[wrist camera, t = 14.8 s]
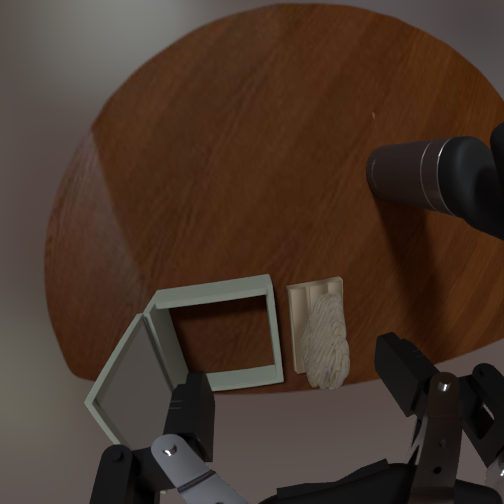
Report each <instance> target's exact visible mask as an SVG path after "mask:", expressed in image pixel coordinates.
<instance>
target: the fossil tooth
mask: <svg viewBox="0 0 504 504" xmlns="http://www.w3.org/2000/svg"><path fill="white" fill-rule="evenodd" d="M300 348H301V353H302V357H303V361H304V366H305V370H306V372H307V373H306V374H307V376H308V381H309V382H310V385H311V386H312V387H318V386H319V387H320V388H321V389H325V388H329V390H333V389H337V388H338V387H339V386H341V385H342V383H343V381H344V379H345V378H346V377H347V375H348V374H349V367H350V359H349V345H348V343H347V341H346V326H345V320H344V314H343V307H342V298H341V296H340V294H339V293H330V292H329V293H326V294H322V295H319V296H317V297H316V298H315V299H314V302H313V305H312V314H310V316H309V319H308V322H307V325H306V328H305V331H304V333H303V336H302V338H301V341H300Z"/></svg>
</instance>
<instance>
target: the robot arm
mask: <svg viewBox="0 0 504 504" xmlns="http://www.w3.org/2000/svg"><path fill="white" fill-rule="evenodd" d="M490 145H491V151H492V152H491V151H490V149H489V148H488V147H487V146H486V145H485V144H484V143H483V142H482V141H481V140H479V139H477V138H475V137H470V136H462V137H451V138H441V139H433V140H424V141H416V142H408V143H401V144H393V145H387V146H382V147H379V148H377V149H376V150H375V151H374V152H373V153H372V154H371V155H370V157H369V159H368V162H367V167H366V175H367V180H368V183H369V186H370V188H371V189H372V191H373V192H374V193H375V194H376V195H377V196H378V197H379V198H381V199H383V200H386V201H391V202H396V203H400V204H405V205H409V206H414V207H418V208H423V209H427V210H431V211H435V212H440V213H444V214H448V215H452V216H456V217H459V218H463V219H464V220H465V221H466V222H467V223H468V224H469V225H470V226H472V227H473V228H475V229H477V230H479V231H482V232H485V233H487V234H489V235H492V236H494V237H497V238H499V239H501V240H503V241H504V122H503V123H501V124H500V125H498V126H497V127H496V128H495V129H494V130H493V132H492V134H491V137H490ZM374 364H375V369H376V371H377V373H378V375H379V376H380V378H381V379H382V381H383V382H384V384H385V385H386V387H387V388H388V390H389V391H390V393H391V394H392V396H393V397H394V399H395V400H396V402H397V403H398V405H399V406H400V408H401V409H402V411H403V412H404V414H405V415H406V417H409V416H411V415H413V414H415V415H416V416H417V419H416V421H415V426H414V430H413V435H412V439H411V443H410V447H409V450H408V454H407V456H406V458H405V461H404V463H392V464H388V462H387V460H386V459H383V460H381V461H378V462H376V463H373V464H370V465H367V466H365V467H362V468H360V469H358V470H356V471H355V472H353V473H351V474H349V475H348V476H346V477H344V478H342V479H340V480H339V481H336V482H327V483H304V484H299V485H294V486H288V487H283V488H277V494H276V495H274V496H271V497H269V498H267V499H265V500H263V501H262V502H260V503H259V504H504V376H503V375H502V374H501V373H500V372H499V371H498V370H497V369H496V368H495V367H494V366H492V365H490V364H487V363H482V364H479V365H477V366H476V367H475V368H474V369H473V372H472V374H471V375H467V376H463V377H458V378H457V377H456V376H455V375H454V374H452V373H449V372H439V370H438V369H437V368H436V367H435V366H434V365H433V364H432V363H431V362H430V361H429V360H428V359H427V358H426V356H425V355H423V353H422V352H421V351H420V350H418V348H417V347H416V346H415V345H414V344H413V343H412V342H410V341H408V340H406V339H400V338H399V337H398V336H397V335H396V334H395V333H394V332H390V333H387V334H384V335H381V336H378V337H377V342H376V351H375V360H374ZM170 401H171V402H170V404H169V409H168V413H167V417H166V422H165V426H164V431H163V435H162V436H160V437H159V438H157V439H156V440H155V441H154V442H153V444H152V446H150V447H147V448H143V449H138V450H133V451H131V450H130V449H129V448H128V447H127V446H125V445H122V444H115V445H112V446H110V447H108V448H107V449H106V450H105V451H104V452H103V454H102V457H101V460H100V464H99V468H98V471H97V475H96V479H95V483H94V487H93V491H92V495H91V499H90V504H159V503H160V491H163V490H168V489H173V488H177V489H178V492H179V493H180V495H181V496H182V497H183V498H184V500H185V501H186V502H187V503H188V504H250V503H249V502H248V501H247V500H245V499H244V498H243V497H242V496H241V495H240V494H239V493H237V492H236V491H235V490H234V489H233V488H232V487H231V486H230V485H229V484H228V483H227V482H226V481H224V480H223V479H222V478H221V477H220V476H219V475H218V474H217V473H216V472H215V471H212V470H211V469H210V468H209V467H208V466H207V465H206V464H205V462H213V436H214V416H215V415H214V414H215V400H214V395H213V392H212V389H211V386H210V384H209V381H208V378H207V375H206V373H205V371H199V372H189V373H188V374H187V378H186V383H185V384H178V385H177V387H176V388H175V389H174V391H173V392H172V396H171V400H170ZM484 404H485V405H486V406H487V407H488V409H489V410H490V411H491V412H492V414H493V416H494V420H493V419H492V417H491V416H490V415H489V413H488V412H487V411H486V409H485V408H484V407H483V405H484ZM462 429H463V430H464V432H465V433H466V435H467V436H468V438H469V439H470V441H471V443H472V444H473V446H474V447H475V449H476V451H477V452H478V454H479V455H480V457H481V459H482V461H483V462H484V464H485V466H486V467H487V472H486V479H485V485H486V486H483V485H479V484H474V483H470V482H466V481H462V480H458V479H456V474H457V469H458V463H459V457H460V449H461V440H462Z"/></svg>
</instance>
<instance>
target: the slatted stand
mask: <svg viewBox="0 0 504 504" xmlns="http://www.w3.org/2000/svg"><path fill="white" fill-rule="evenodd" d="M286 289H287V299H288V309H289V319H290V330H291V341H292V353H293V365H294V370H295V372H297V374H299V373H304V372H306V370H305V366H304V361H303V357H302V353H301V348H300V341H301V338H302V336H303V333H304V331H305V328H306V325H307V322H308V319H309V316H310V314H312V305H313V302H314V299H315V298H316V297H317V296H319V295H322V294H326V293H329V292H330V293H339V294H340V296H341V298H342V307H343V280H342V279H341V278H340V277H334V278H329V279H323V280H318V281H313V282H307V283H301V284H296V285H290V286H286Z"/></svg>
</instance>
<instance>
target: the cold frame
mask: <svg viewBox="0 0 504 504" xmlns="http://www.w3.org/2000/svg"><path fill="white" fill-rule="evenodd" d="M264 294H265V298H266V305H267V313H268V320H269V327H270V335H271V342H272V350H273V357H274V365H270V366H264V367H258V368H251V369H244V370H236V371H228V372H218V373H208V374H206V375H207V378H208V381H209V384H210V386H211V389H212V391H219V390H229V389H238V388H246V387H253V386H260V385H266V384H273V383H279V382H284V380H283V371H282V362H281V353H280V344H279V336H278V327H277V319H276V311H275V302H274V294H273V286H272V282H271V279H270V276H269V274H266V275H259V276H253V277H247V278H240V279H234V280H227V281H220V282H214V283H207V284H200V285H193V286H186V287H178V288H171V289H164V290H157V291H156V293H155V294H154V296H153V298H152V299H151V301H150V302H149V304H148V306H147V307H146V309H145V310H144V312H143V313H141V314H137V315H136V317H135V318H134V320H133V321H132V323H131V324H130V326H129V327H128V329H127V331H126V332H125V334H124V335H123V337H122V339H121V340H120V342H119V343H118V345H117V347H116V348H115V350H114V352H113V353H112V355H111V357H110V358H109V360H108V362H107V363H106V365H105V367H104V368H103V370H102V372H101V373H100V375H99V377H98V379H97V380H96V382H95V384H94V386H93V388H92V389H91V391H90V393H89V395H88V397H87V398H86V400H85V402H84V403H85V405H86V406H87V408H88V409H89V411H90V412H91V414H92V415H93V417H94V418H95V419H96V421H97V422H98V424H99V425H100V426H101V428H102V429H103V430H104V432H105V433H106V434H107V435H108V437H109V438H110V439H111V440H112V442H113V443H114V444H122V445H125V446H127V447H128V448H129V449H130V450H131V451H133V450H138V449H143V448H147V447H150V446H152V444H153V442H154V441H155V440H156V439H157V438H159V437H160V436H162V435H163V431H164V426H165V422H166V417H167V413H168V409H169V404H170V402H171V401H170V400H171V396H172V392H173V391H174V389H175V388H176V387H177V385H178V384H185V383H186V378H187V374H188V373H189V371H188V368H187V365H186V363H185V360H184V357H183V354H182V351H181V348H180V345H179V342H178V339H177V336H176V333H175V330H174V326H173V323H172V320H171V317H170V313H169V310H168V308H172V307H180V306H188V305H196V304H203V303H211V302H218V301H225V300H232V299H239V298H245V297H252V296H258V295H264ZM160 493H164V494H167V490H163V491H160Z"/></svg>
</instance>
